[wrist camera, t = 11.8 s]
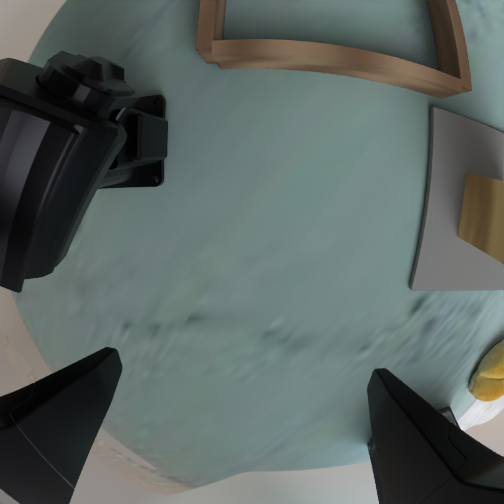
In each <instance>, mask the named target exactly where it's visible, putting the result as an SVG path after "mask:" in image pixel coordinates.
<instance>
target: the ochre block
mask: <svg viewBox="0 0 504 504" xmlns="http://www.w3.org/2000/svg"><path fill="white" fill-rule="evenodd" d="M457 237H458V238H460V239H462V240H464V241H466V242H467V243H469V244H471V245H473V246H474V247H476V248H478V249H479V250H481V251H483V252H484V253H486V254H488V255H489V256H491V257H493V258H494V259H496V260H497V261H499V262H501V263H502V264H504V181H501V180H496V179H492V178H487V177H482V176H477V175H472V174H466V179H465V189H464V197H463V205H462V212H461V218H460V224H459V230H458V235H457Z"/></svg>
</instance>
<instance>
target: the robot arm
mask: <svg viewBox="0 0 504 504" xmlns="http://www.w3.org/2000/svg"><path fill="white" fill-rule="evenodd" d="M134 91H135V90H134V89H132V88H131V87H130V86H128V85H127V84H126V82H125V81H124V69H123V68H122V67H120V66H119V65H117V64H115V63H113V62H111V61H108V60H106V59H104V58H101V57H91V58H86V57H84V56H82V55H76V56H74V55H72V54H69V53H67V52H64V51H61V52H59V53H58V54H56V55H54V56H53V57H51V58H50V59H48V61H47V62H46V64H45V66H44V67H43V68H41V67H38V66H35V65H32V64H29V63H26V62H22V61H19V60H16V59H13V58H6V59H2V60H0V286H1V287H4V288H7V289H9V290H12V291H15V292H18V293H19V292H21V291H22V287H23V283H24V279H31V278H39V277H43V276H46V275H48V274H50V273H52V272H53V271H54V268H55V267H56V266H57V265H58V264H59V263H60V262H61V261H62V260H63V259H64V257H65V256H66V255H67V252H68V250H69V247H70V245H71V243H72V240H73V238H74V236H75V234H76V231H77V229H78V227H79V225H80V223H81V221H82V218H83V216H84V214H85V212H86V210H87V208H88V206H89V204H90V202H91V200H92V198H93V196H94V195H95V193H96V191H97V189H102V188H125V187H156V186H160V185H161V184H162V183H163V182H164V159H165V158H166V157H167V138H168V121H167V120H165V107H166V100H165V98H164V97H163V96H161V95H153V96H146V97H139V96H138V95H136V94H135V93H134ZM158 99H160V103H159V105H156V101H157V100H158ZM155 176H157V177H158V178H159V181H158V182H155V180H154V178H155ZM121 373H122V363H121V360H120V357H119V353H118V351H117V349H115V348H111V347H105V348H103V349H101V350H99V351H97V352H95V353H93V354H91V355H89V356H87V357H85V358H83V359H81V360H79V361H77V362H75V363H73V364H71V365H69V366H67V367H65V368H63V369H61V370H59V371H57V372H55V373H53V374H51V375H49V376H47V377H44V378H42V379H40V380H38V381H36V382H35V383H32V384H30V385H28V386H26V387H23V388H21V389H19V390H17V391H14V392H12V393H9V394H6V395H4V396H1V397H0V504H69V503H70V500H71V498H72V495H73V492H74V488H75V486H76V484H77V481H78V479H79V476H80V474H81V471H82V469H83V466H84V464H85V461H86V459H87V457H88V454H89V452H90V449H91V447H92V445H93V442H94V440H95V438H96V436H97V433H98V431H99V429H100V426H101V424H102V422H103V420H104V418H105V415H106V413H107V411H108V409H109V407H110V404H111V402H112V399H113V396H114V393H115V390H116V387H117V384H118V381H119V378H120V376H121ZM367 394H368V402H369V412H370V422H371V429H372V434H373V439H374V443H375V448H376V453H377V458H378V463H379V468H380V474H381V479H382V485H383V491H384V498H385V504H504V457H503V456H501V455H499V454H497V453H496V452H494V451H492V450H491V449H489V448H488V447H486V446H484V445H483V444H481V443H480V442H478V441H476V440H475V439H474V438H472V437H471V436H469V435H468V434H466V433H465V432H464V431H462V430H461V429H460V428H459V427H457V426H456V425H455V424H454V423H452V422H450V420H449V419H447V418H446V417H445V416H444V415H442V414H441V413H440V412H439V411H438V410H436V409H435V408H434V407H433V406H431V405H430V404H429V403H428V402H426V401H425V400H424V399H423V398H422V397H420V396H419V395H418V394H417V393H415V392H414V391H413V390H412V389H411V388H409V387H408V386H407V385H406V384H404V383H403V382H402V381H401V380H400V379H398V378H397V377H396V376H395V375H394V374H392V373H391V372H390V371H389V370H387V369H386V368H378V369H375V370H374V371H373V373H372V376H371V378H370V381H369V383H368V387H367Z"/></svg>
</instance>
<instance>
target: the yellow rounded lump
mask: <svg viewBox="0 0 504 504" xmlns="http://www.w3.org/2000/svg"><path fill="white" fill-rule="evenodd" d="M469 392H470V393H471V394H472V395H473V396H474V397H475V398H477V399H478V400H481V401H493V400H495V399H498V398H499V397H501V396H502V395H503V394H504V339H503V340H502V341H500V342H499V343H498V344H496V345H495V346H494V347H493V348H492V349H491V350H490V351H489V352H488V353H487V354H486V355H485V356H484V358H483V359H482V361H481V362H480V364H479V366H478V368H477V371H476V372H475V373H474V374H473V376H472V378H471V381H470V384H469Z"/></svg>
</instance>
